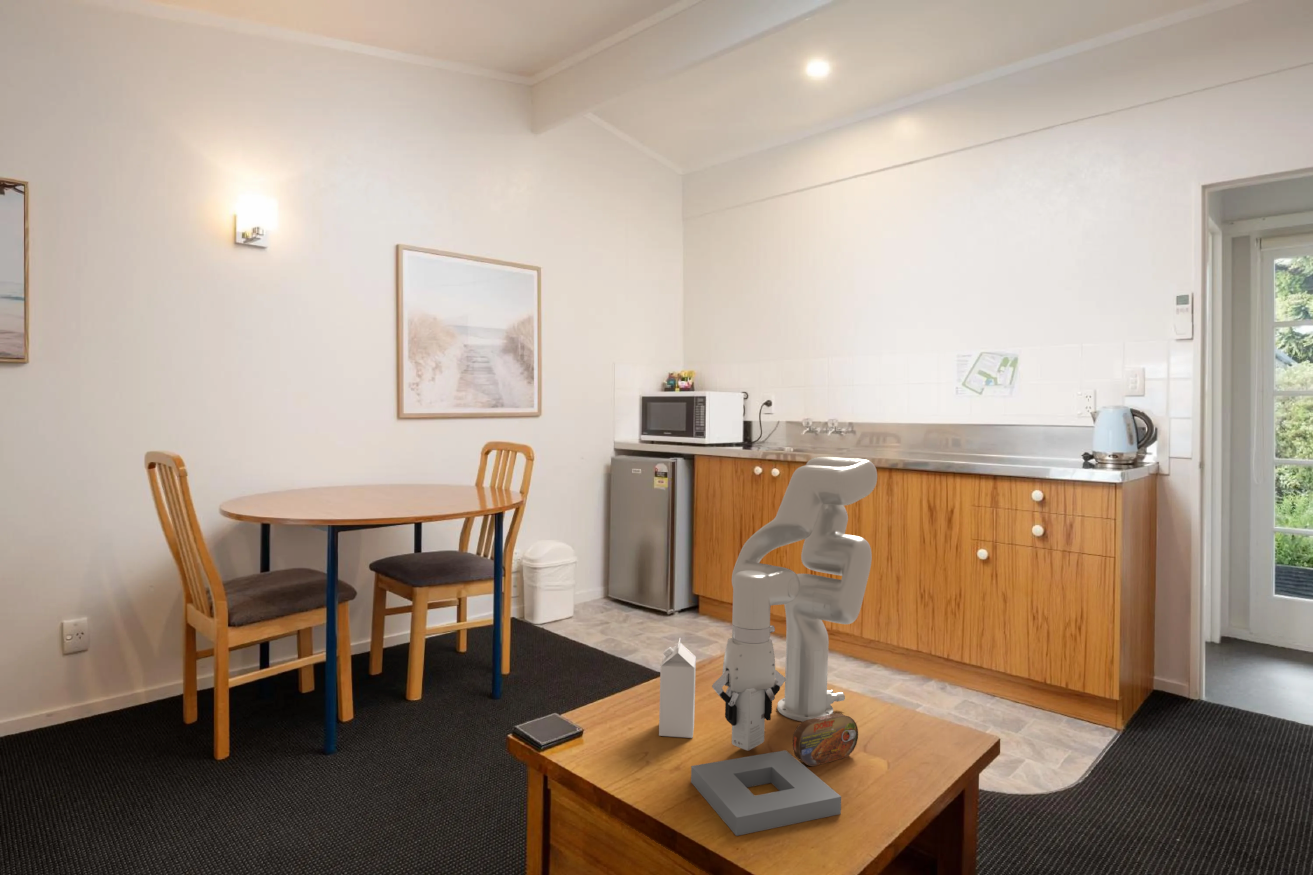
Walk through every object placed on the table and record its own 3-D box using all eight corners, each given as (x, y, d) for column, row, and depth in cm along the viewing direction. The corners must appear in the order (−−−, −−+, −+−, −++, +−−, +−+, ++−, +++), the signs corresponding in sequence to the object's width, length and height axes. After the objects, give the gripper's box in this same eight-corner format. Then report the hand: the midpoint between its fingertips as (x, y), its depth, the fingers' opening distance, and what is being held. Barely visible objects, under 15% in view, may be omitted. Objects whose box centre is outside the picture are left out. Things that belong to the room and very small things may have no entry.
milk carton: (694, 724, 158) (696, 638, 158) (692, 738, 151) (694, 648, 150) (661, 722, 159) (663, 636, 158) (658, 736, 152) (660, 646, 151)
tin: (799, 770, 139) (800, 726, 139) (789, 763, 142) (790, 720, 141) (858, 754, 146) (860, 713, 146) (848, 748, 149) (849, 707, 148)
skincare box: (748, 751, 143) (750, 690, 142) (730, 744, 146) (731, 684, 145) (765, 741, 147) (767, 682, 147) (746, 734, 150) (748, 676, 150)
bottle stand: (785, 765, 140) (785, 750, 140) (840, 813, 124) (841, 796, 124) (690, 781, 133) (691, 765, 133) (736, 835, 116) (736, 817, 116)
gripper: (778, 624, 152) (776, 707, 153) (703, 631, 146) (701, 718, 147) (798, 634, 145) (795, 722, 146) (720, 642, 139) (717, 734, 140)
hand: (748, 719), depth 146 cm, fingers closed on skincare box, 7 cm apart
